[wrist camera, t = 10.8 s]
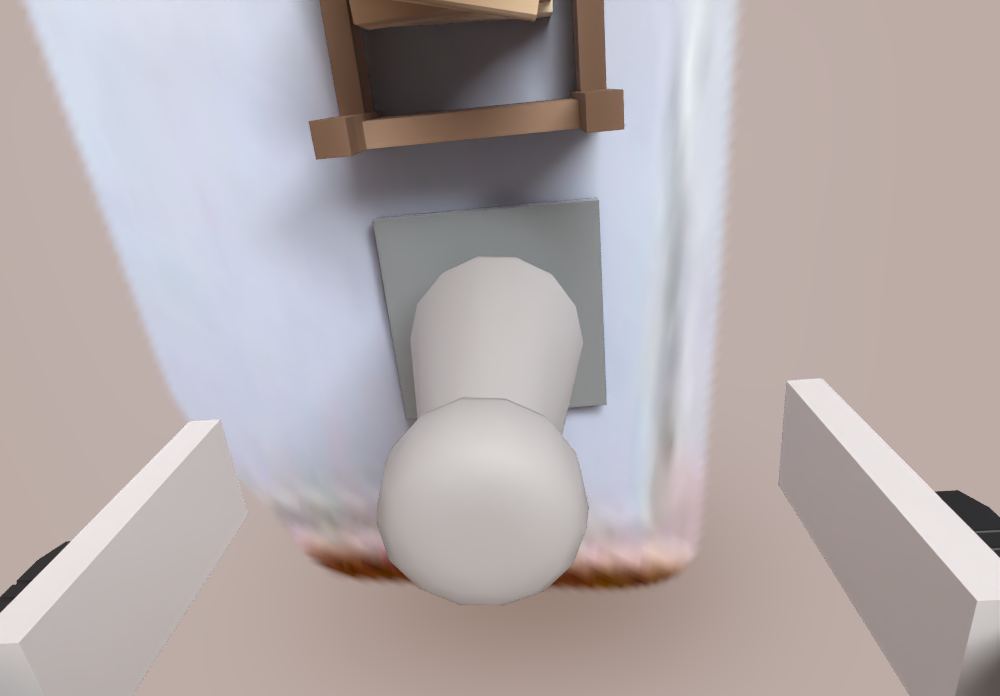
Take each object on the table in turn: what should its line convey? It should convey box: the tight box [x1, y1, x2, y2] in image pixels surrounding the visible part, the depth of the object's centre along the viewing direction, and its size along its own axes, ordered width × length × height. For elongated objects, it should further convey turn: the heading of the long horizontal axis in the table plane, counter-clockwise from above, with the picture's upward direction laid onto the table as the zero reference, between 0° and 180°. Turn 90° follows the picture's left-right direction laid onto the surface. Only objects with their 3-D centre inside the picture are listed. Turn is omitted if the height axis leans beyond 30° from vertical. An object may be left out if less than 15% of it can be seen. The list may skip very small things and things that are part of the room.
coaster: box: [373, 198, 607, 420], centre depth 25 cm, size 8×8×1 cm
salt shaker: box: [377, 256, 589, 605], centre depth 18 cm, size 6×6×13 cm
